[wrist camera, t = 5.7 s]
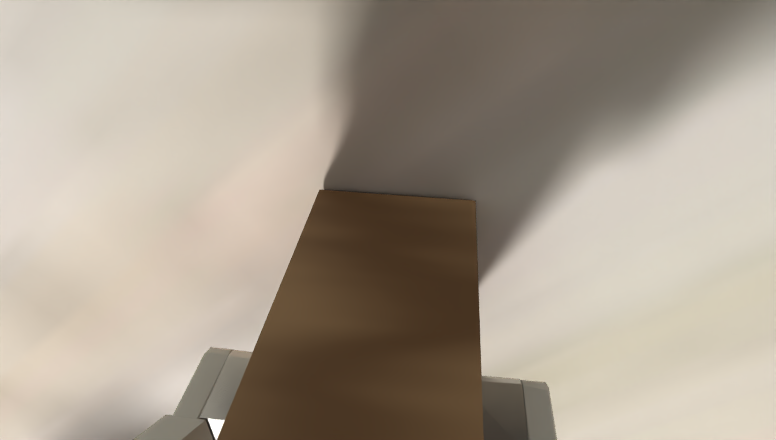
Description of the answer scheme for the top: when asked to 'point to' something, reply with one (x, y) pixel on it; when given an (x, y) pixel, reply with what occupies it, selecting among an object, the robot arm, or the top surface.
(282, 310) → the tall wooden block
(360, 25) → the top surface
